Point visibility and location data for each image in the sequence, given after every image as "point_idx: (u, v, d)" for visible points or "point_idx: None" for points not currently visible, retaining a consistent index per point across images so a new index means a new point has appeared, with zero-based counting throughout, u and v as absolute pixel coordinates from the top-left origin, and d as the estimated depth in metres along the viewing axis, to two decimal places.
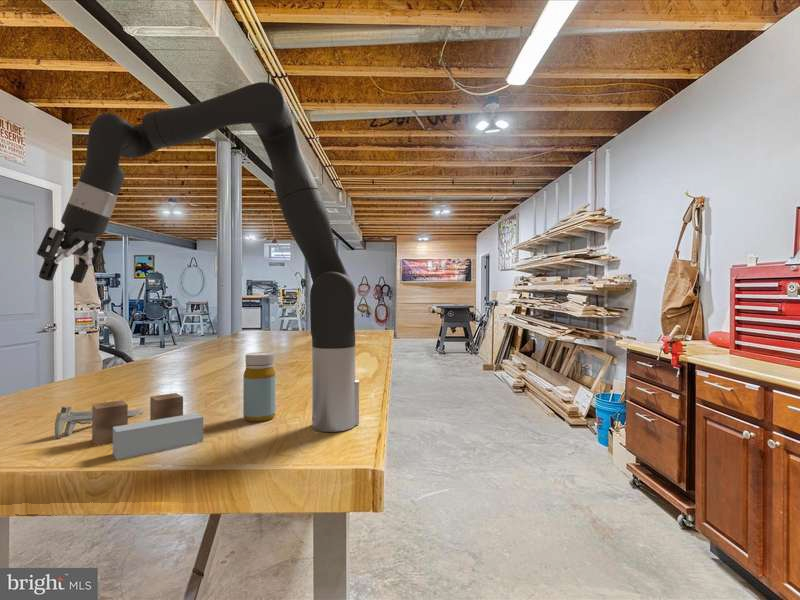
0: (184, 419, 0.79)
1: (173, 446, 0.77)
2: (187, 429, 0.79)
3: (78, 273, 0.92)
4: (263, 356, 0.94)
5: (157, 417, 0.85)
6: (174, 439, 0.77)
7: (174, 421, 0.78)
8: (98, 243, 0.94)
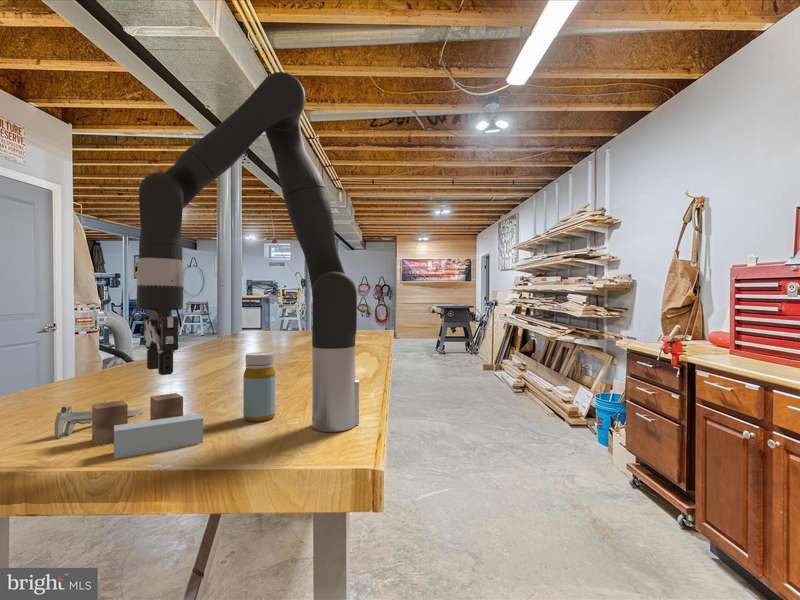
0: (184, 420, 0.79)
1: (172, 447, 0.77)
2: (186, 430, 0.78)
3: (155, 359, 0.81)
4: (263, 356, 0.94)
5: (157, 417, 0.85)
6: (173, 439, 0.77)
7: (173, 421, 0.77)
8: None
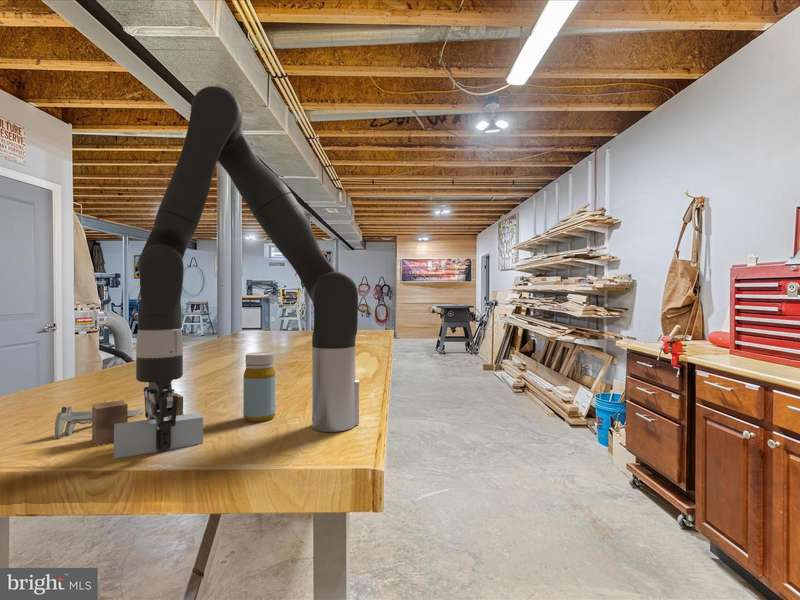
0: (183, 419, 0.78)
1: (171, 446, 0.77)
2: (185, 429, 0.78)
3: None
4: (263, 356, 0.94)
5: None
6: (172, 438, 0.77)
7: None
8: None
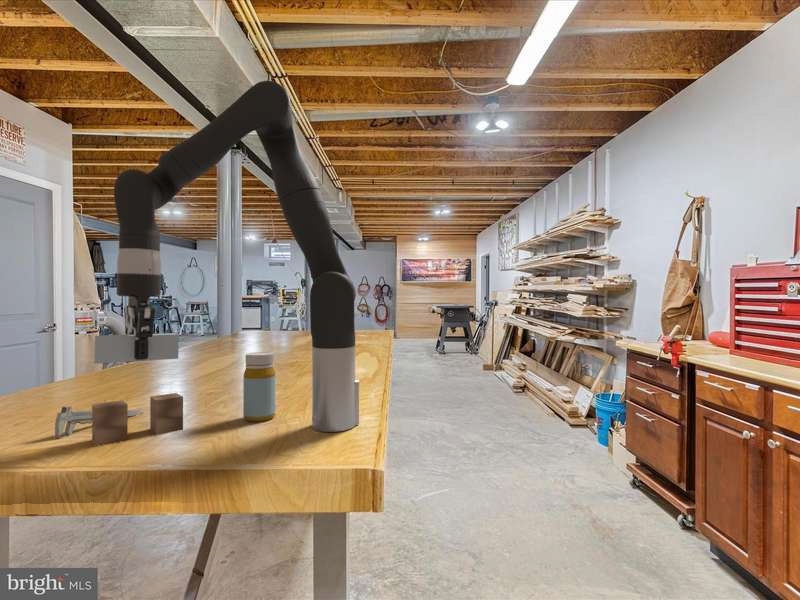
0: (160, 334, 0.85)
1: (149, 357, 0.83)
2: (162, 343, 0.85)
3: None
4: (263, 356, 0.94)
5: (157, 417, 0.85)
6: (150, 351, 0.84)
7: None
8: None
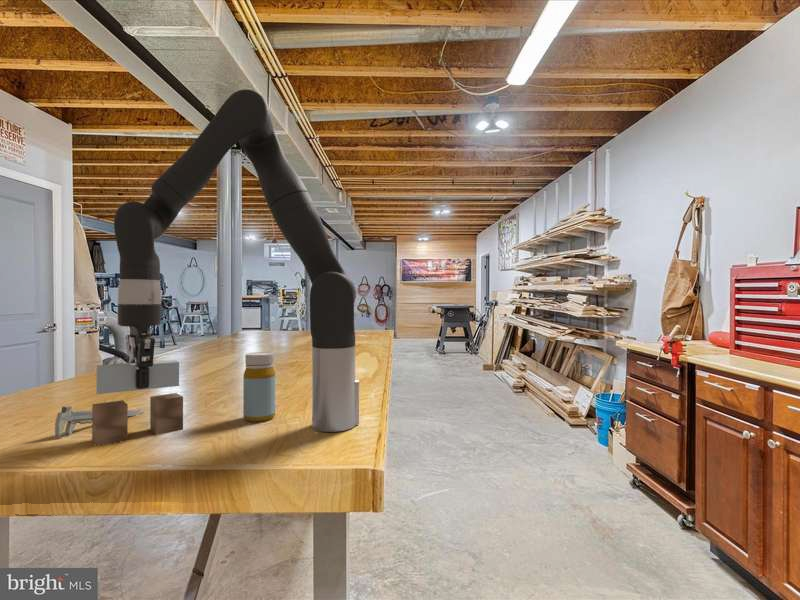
0: (161, 363, 0.86)
1: (150, 386, 0.85)
2: (163, 372, 0.86)
3: None
4: (263, 356, 0.94)
5: (157, 417, 0.85)
6: (151, 379, 0.85)
7: None
8: None
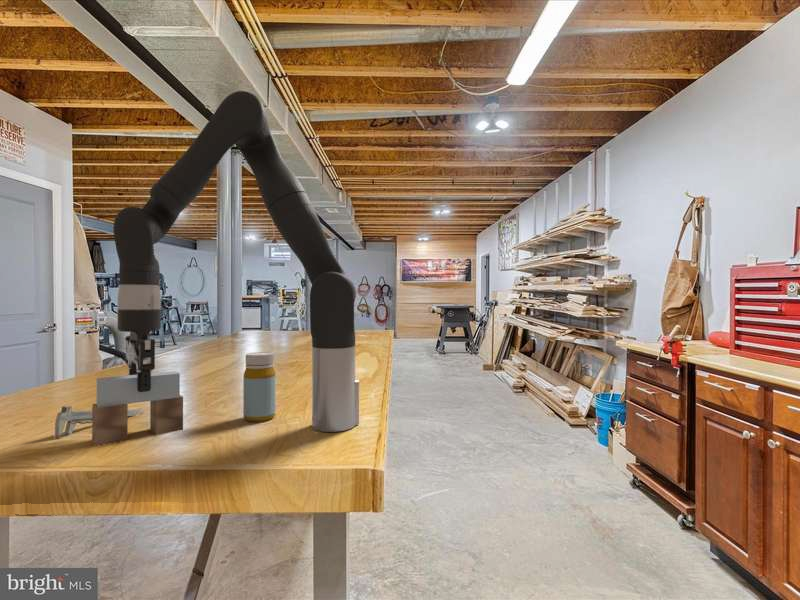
0: (161, 374, 0.86)
1: (151, 398, 0.85)
2: (163, 383, 0.86)
3: None
4: (263, 356, 0.94)
5: (157, 417, 0.85)
6: (151, 391, 0.85)
7: (152, 375, 0.85)
8: None
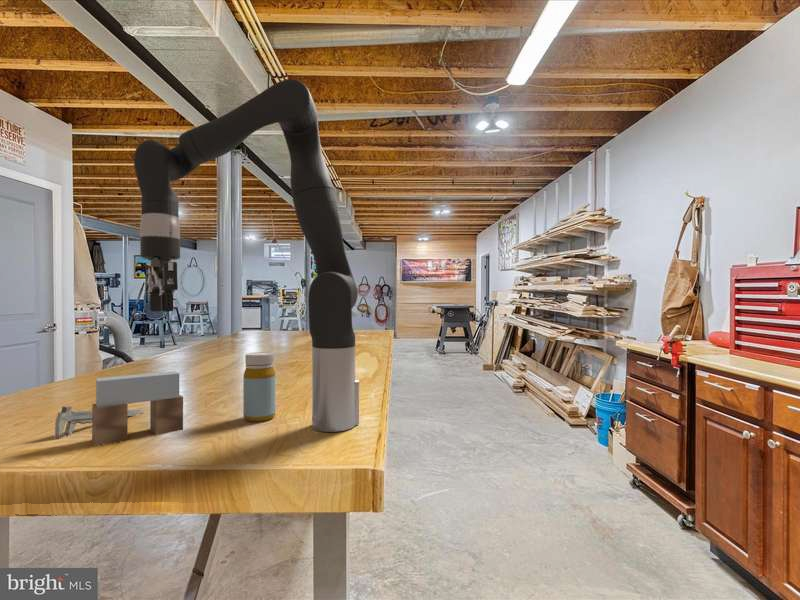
0: (161, 374, 0.86)
1: (150, 398, 0.85)
2: (163, 383, 0.86)
3: (156, 302, 0.94)
4: (263, 356, 0.94)
5: (157, 417, 0.85)
6: (151, 391, 0.85)
7: (152, 375, 0.85)
8: None
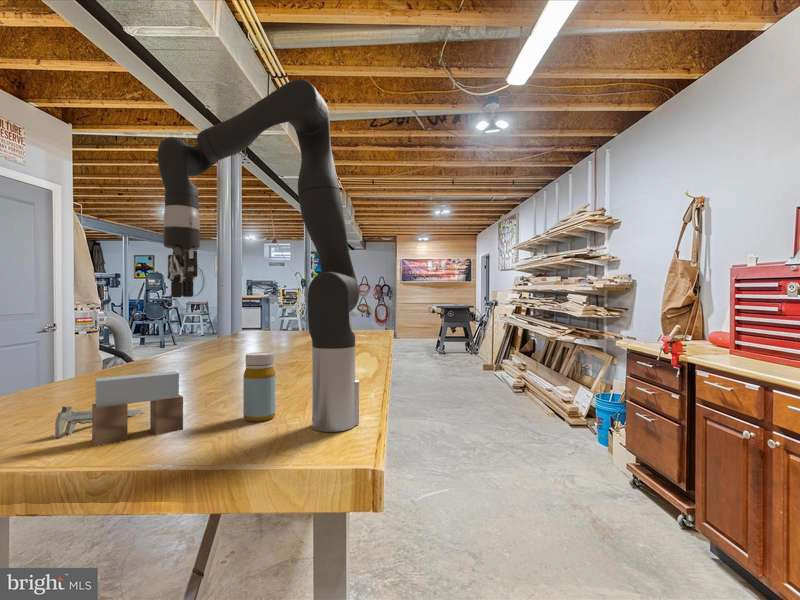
0: (161, 374, 0.86)
1: (150, 398, 0.85)
2: (163, 383, 0.86)
3: (177, 289, 1.01)
4: (263, 356, 0.94)
5: (157, 417, 0.85)
6: (151, 391, 0.85)
7: (151, 375, 0.85)
8: None
